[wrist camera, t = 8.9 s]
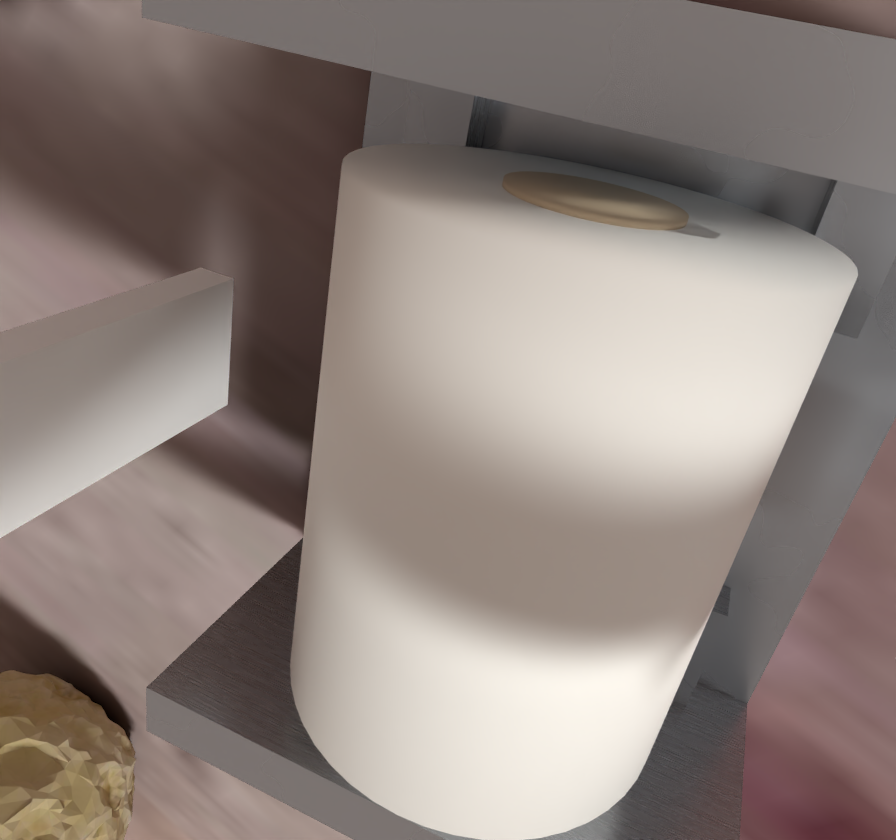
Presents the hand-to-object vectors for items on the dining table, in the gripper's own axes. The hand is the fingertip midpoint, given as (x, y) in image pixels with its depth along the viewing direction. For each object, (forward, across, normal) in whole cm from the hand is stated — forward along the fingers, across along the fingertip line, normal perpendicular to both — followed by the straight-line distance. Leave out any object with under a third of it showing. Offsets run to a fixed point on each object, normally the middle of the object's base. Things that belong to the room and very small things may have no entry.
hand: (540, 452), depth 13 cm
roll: (-1, 0, 0) cm, 1 cm away
